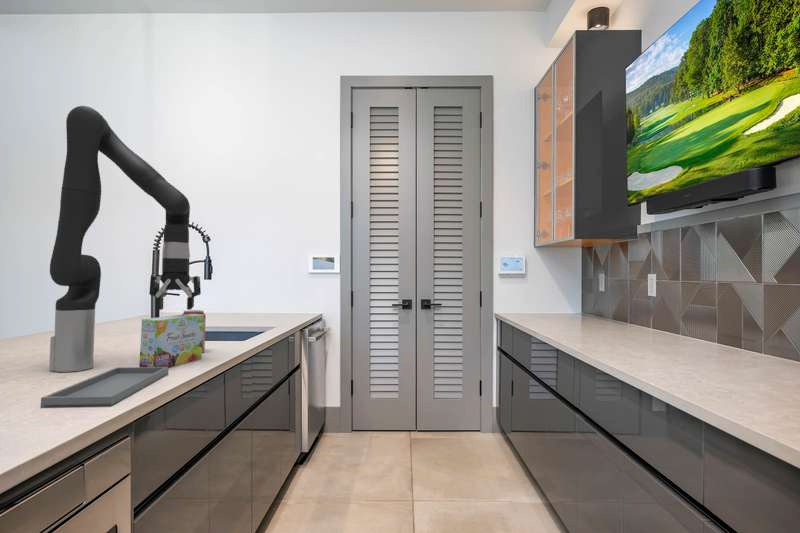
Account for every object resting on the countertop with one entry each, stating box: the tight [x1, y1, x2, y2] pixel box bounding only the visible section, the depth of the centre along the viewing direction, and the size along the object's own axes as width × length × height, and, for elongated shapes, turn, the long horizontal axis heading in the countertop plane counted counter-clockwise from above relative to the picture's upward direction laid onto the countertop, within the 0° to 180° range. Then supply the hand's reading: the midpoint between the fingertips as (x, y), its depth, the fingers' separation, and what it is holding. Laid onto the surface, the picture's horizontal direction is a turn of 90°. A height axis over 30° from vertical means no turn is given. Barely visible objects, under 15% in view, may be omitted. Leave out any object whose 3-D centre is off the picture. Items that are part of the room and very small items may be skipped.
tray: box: [40, 366, 169, 408], centre depth 105 cm, size 14×30×2 cm, turn 7°
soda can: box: [181, 309, 207, 352], centre depth 153 cm, size 8×8×15 cm
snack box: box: [139, 314, 204, 369], centre depth 133 cm, size 21×6×15 cm, turn 168°
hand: (175, 309), depth 133 cm, fingers open, 8 cm apart
